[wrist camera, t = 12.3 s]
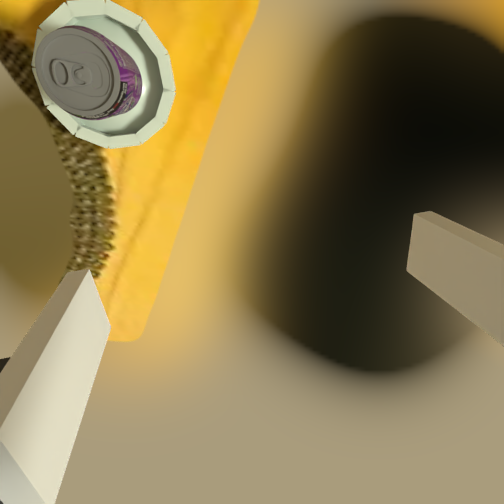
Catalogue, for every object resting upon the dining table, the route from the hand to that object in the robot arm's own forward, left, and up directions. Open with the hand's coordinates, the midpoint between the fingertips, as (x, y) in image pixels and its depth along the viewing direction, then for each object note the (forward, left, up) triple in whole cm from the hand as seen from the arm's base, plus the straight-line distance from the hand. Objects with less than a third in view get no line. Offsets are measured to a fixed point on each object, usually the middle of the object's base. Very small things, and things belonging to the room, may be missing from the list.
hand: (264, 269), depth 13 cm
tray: (-9, -10, -33) cm, 36 cm away
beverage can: (-9, -10, -32) cm, 35 cm away
